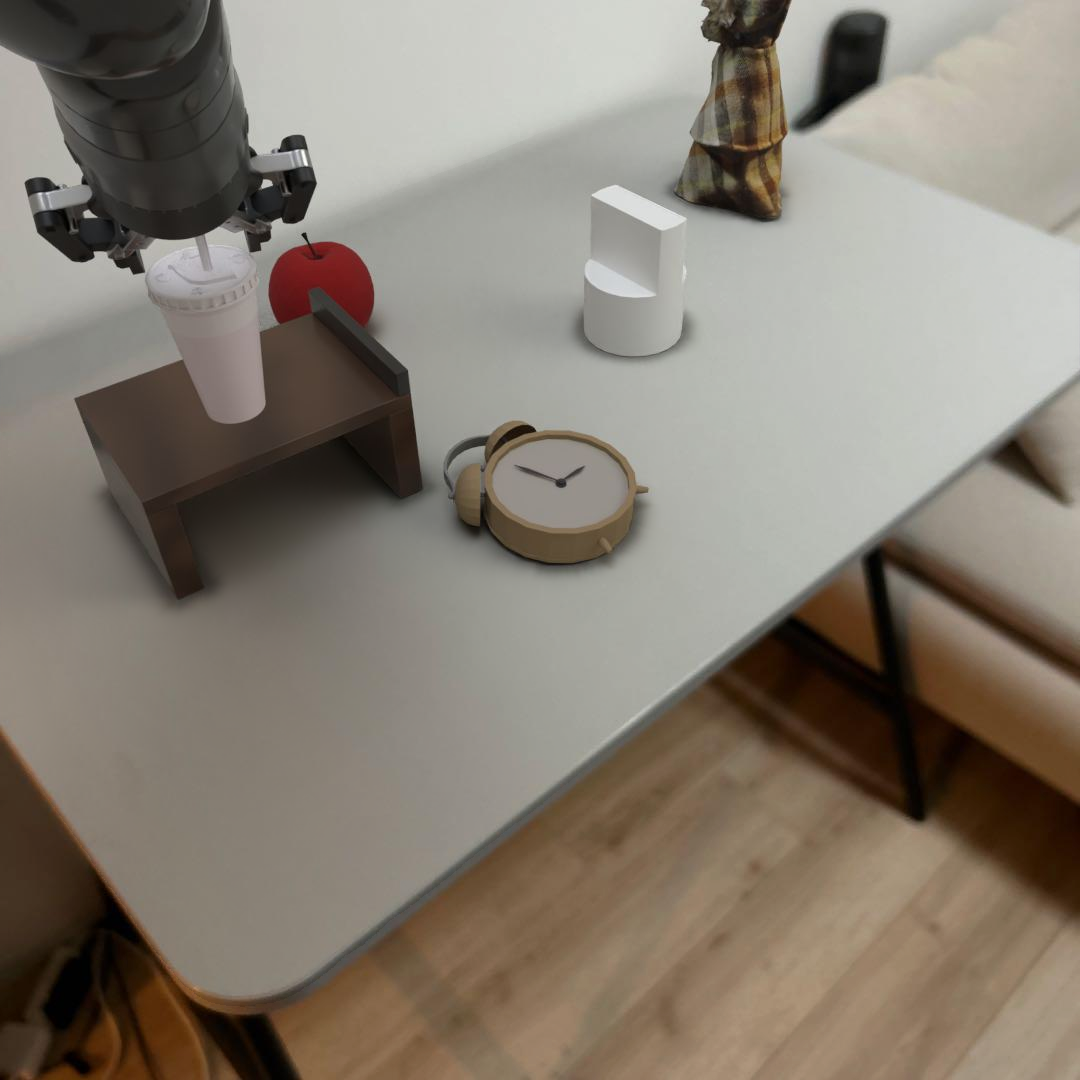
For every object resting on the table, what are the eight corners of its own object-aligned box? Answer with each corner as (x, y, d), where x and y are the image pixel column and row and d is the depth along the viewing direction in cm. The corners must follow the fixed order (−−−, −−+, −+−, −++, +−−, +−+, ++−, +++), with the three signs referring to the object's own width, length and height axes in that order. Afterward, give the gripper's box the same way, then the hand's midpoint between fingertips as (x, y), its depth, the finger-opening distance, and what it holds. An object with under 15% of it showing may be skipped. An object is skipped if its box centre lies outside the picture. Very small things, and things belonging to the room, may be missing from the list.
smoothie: (252, 446, 66) (198, 234, 56) (164, 424, 68) (97, 216, 58) (305, 387, 70) (263, 182, 61) (220, 369, 72) (167, 166, 62)
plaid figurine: (653, 215, 113) (728, -44, 97) (643, 161, 123) (709, -81, 107) (780, 240, 115) (875, -10, 99) (760, 185, 125) (843, -50, 109)
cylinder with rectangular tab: (563, 327, 100) (562, 205, 92) (633, 292, 104) (638, 173, 96) (631, 368, 95) (637, 244, 87) (702, 330, 99) (714, 208, 91)
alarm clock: (604, 556, 74) (413, 470, 77) (592, 601, 78) (410, 517, 81) (662, 460, 81) (486, 384, 84) (648, 505, 85) (480, 431, 88)
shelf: (177, 600, 76) (132, 478, 68) (111, 493, 84) (64, 375, 77) (423, 489, 84) (408, 369, 76) (340, 402, 93) (319, 286, 85)
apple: (287, 371, 96) (265, 270, 89) (271, 319, 102) (249, 220, 95) (389, 350, 98) (375, 250, 91) (367, 300, 104) (353, 203, 97)
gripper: (300, 16, 48) (299, 163, 65) (-43, 63, 45) (48, 206, 62) (342, 178, 48) (331, 285, 65) (3, 238, 45) (81, 334, 62)
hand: (193, 246), depth 63 cm, fingers closed on smoothie, 6 cm apart
